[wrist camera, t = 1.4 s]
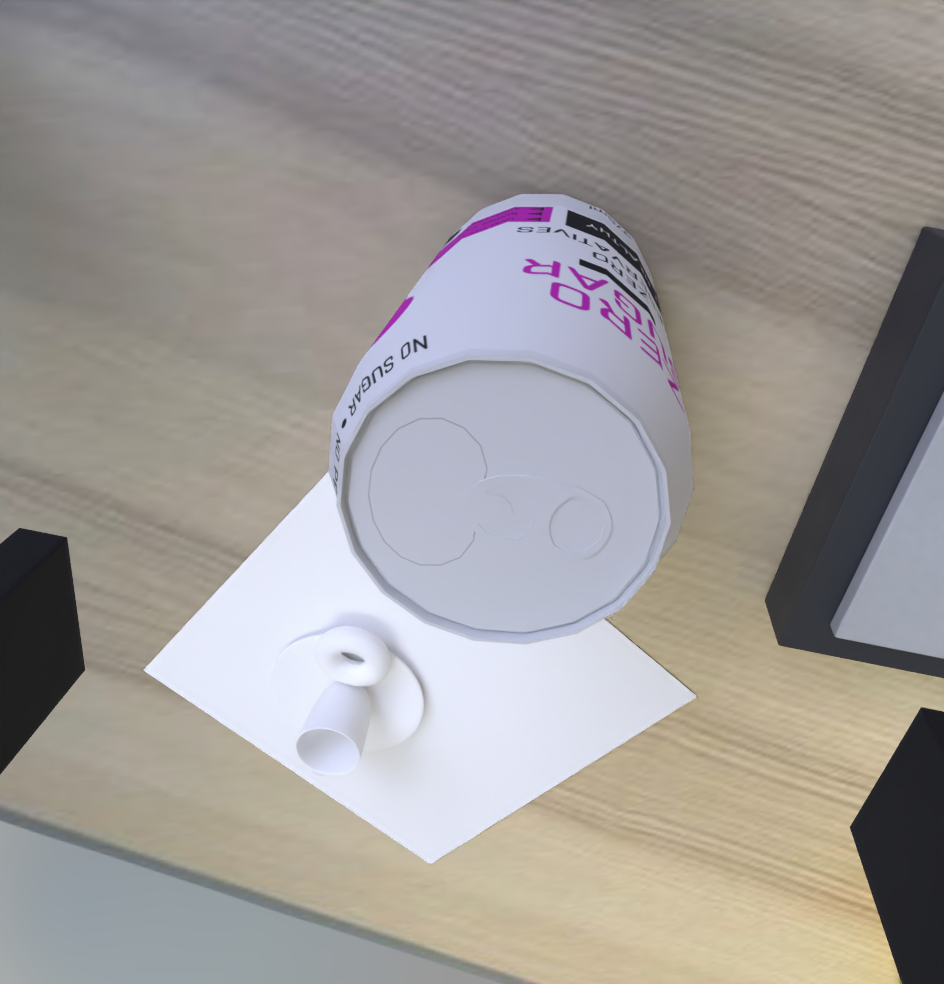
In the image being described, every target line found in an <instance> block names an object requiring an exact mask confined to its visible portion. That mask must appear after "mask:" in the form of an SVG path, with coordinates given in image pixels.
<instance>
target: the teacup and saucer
mask: <svg viewBox="0 0 944 984" xmlns="http://www.w3.org/2000/svg"><path fill="white" fill-rule="evenodd" d="M269 690H270V695H271V698H272V700H273V703H274V705H275V707H276V708H277V710H278V712H279V713H280V714H281V716H282V717H283V718H284V719H285V720H286V722H287V723H288V724H289V725H290V726H291V727H293V728H294V729H295V730H296V731H297V732H299V733H298V735H297V737H296V739H295V742H294V749H295V753H296V755H297V757H298V758H299V760H300V761H301V762H302V763H303V764H304V765H305V766H306V767H308V768H309V769H311V770H312V771H311V772H312V773H313V774H314V775H315V776H318V777H323V776H324V775H326V776H335V777H336V776H344V775H347V774H350V773H352V772H353V771H354V770H355V769H356V768H357V767H358V766H359V765H360V762H361V759H362V756H363V754H371V753H379V752H383V751H387V750H390V749H393V748H395V747H397V746H399V745H401V744H403V743H404V742H406V741H407V740H408V739H409V738H410V737H411V736H412V735H413V734H414V733H415V732H416V731H417V730H418V728H419V726H420V725H421V723H422V720H423V717H424V713H425V697H424V693H423V689H422V687H421V684H420V682H419V680H418V679H417V677H416V675H415V674H414V673H413V671H412V670H411V669H410V668H409V667H408V665H407V664H406V663H405V662H404V661H403V660H401V659H400V658H399V657H398V656H397V655H395V654H394V653H393V652H391V651H390V650H389V648H388V646H387V645H386V644H385V642H384V641H383V640H382V639H381V638H380V637H379V636H377V635H376V634H374V633H373V632H371V631H369V630H367V629H365V628H362V627H358V626H353V625H341V626H336V627H333V628H330V629H328V630H327V631H325V632H324V633H321V634H314V635H310V636H306V637H303V638H301V639H298V640H296V641H294V642H293V643H291V644H289V645H288V646H287V647H285V648H284V649H283V650H282V651H281V652H280V653H279V654H278V656H277V657H276V658H275V660H274V662H273V664H272V666H271V669H270V673H269Z"/></svg>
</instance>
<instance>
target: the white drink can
mask: <svg viewBox="0 0 944 984" xmlns="http://www.w3.org/2000/svg"><path fill="white" fill-rule="evenodd" d="M328 471H329V474H330V478H331V481H332V484H333V487H334V490H335V494H336V497H337V504H336V506H337V509H338V512H339V516H340V519H341V522H342V525H343V528H344V532H345V535H346V538H347V541H348V544H349V547H350V551H351V553H352V555H353V556H354V557H355V559H356V560H357V561H358V562H359V564H360V565H361V566H362V568H363V569H364V570H365V572H366V573H367V574H368V576H369V577H370V578H371V580H372V581H373V582H374V584H375V585H376V586H377V588H378V589H379V590H380V592H381V593H382V594H384V595H385V596H386V597H388V598H389V599H391V600H392V601H393V602H395V603H396V604H398V605H399V606H400V607H402V608H403V609H405V610H406V611H407V612H409V613H410V614H412V615H413V616H414V617H416V618H417V619H419V620H420V621H421V622H423V623H425V624H428V625H431V626H433V627H436V628H439V629H442V630H445V631H447V632H450V633H453V634H456V635H459V636H461V637H464V638H467V639H470V640H473V641H484V642H498V643H512V644H525V645H526V644H531V643H536V642H540V641H545V640H550V639H555V638H560V637H564V636H569V635H574V634H578V633H579V632H581V631H583V630H585V629H587V628H588V627H590V626H592V625H594V624H596V623H597V622H599V621H601V620H603V619H605V618H606V617H608V616H610V615H612V614H614V613H615V612H617V611H619V610H621V609H622V608H623V607H624V606H625V605H626V603H627V602H628V601H629V600H630V599H631V598H632V596H633V595H634V594H635V593H636V592H637V591H638V590H639V588H640V587H641V586H642V585H643V584H644V583H645V582H646V580H647V579H648V578H649V577H650V576H651V575H652V574H653V572H654V571H655V569H656V566H657V563H658V562H659V560H660V559H661V558H662V557H663V556H664V555H665V553H666V552H667V551H668V550H669V549H670V548H671V547H672V545H673V544H674V543H675V542H676V539H677V536H678V534H679V531H680V528H681V525H682V522H683V519H684V516H685V513H686V511H687V508H688V505H689V502H690V499H691V496H692V493H693V490H694V477H693V463H692V448H691V434H690V427H689V423H688V418H687V414H686V410H685V406H684V402H683V398H682V394H681V390H680V386H679V382H678V378H677V374H676V370H675V366H674V362H673V358H672V354H671V350H670V346H669V342H668V338H667V334H666V330H665V326H664V322H663V318H662V314H661V310H660V306H659V302H658V298H657V294H656V290H655V286H654V282H653V278H652V275H651V272H650V270H649V268H648V266H647V264H646V262H645V260H644V258H643V256H642V254H641V252H640V250H639V248H638V246H637V244H636V242H635V240H634V238H633V237H632V236H631V235H630V234H629V233H628V232H627V231H626V230H624V229H623V228H622V227H621V226H620V225H619V224H618V223H617V222H616V221H615V220H614V219H613V218H611V217H610V216H609V215H608V214H607V213H606V212H605V211H604V210H603V209H600V208H597V207H595V206H592V205H590V204H587V203H585V202H582V201H580V200H577V199H574V198H572V197H569V196H567V195H564V194H520V195H517V196H514V197H512V198H509V199H507V200H504V201H501V202H499V203H496V204H493V205H491V206H488V207H486V208H483V209H481V210H480V211H479V212H478V213H477V214H475V215H474V216H473V217H472V218H471V219H470V220H469V221H468V222H466V223H465V224H464V225H463V226H462V227H461V228H460V229H459V230H457V231H456V232H455V233H454V234H453V235H452V236H451V237H450V238H449V240H448V241H447V242H446V244H445V245H444V247H443V248H442V249H441V251H440V252H439V253H438V255H437V256H436V258H435V259H434V260H433V262H432V263H431V264H430V266H429V267H428V269H427V270H426V271H425V273H424V274H423V276H422V277H421V278H420V280H419V281H418V282H417V284H416V285H415V287H414V288H413V289H412V291H411V292H410V293H409V295H408V296H407V298H406V299H405V300H404V302H403V303H402V305H401V306H400V307H399V309H398V310H397V311H396V313H395V314H394V316H393V317H392V318H391V320H390V321H389V322H388V324H387V325H386V327H385V328H384V329H383V331H382V332H381V334H380V335H379V336H378V338H377V339H376V340H375V342H374V343H373V345H372V346H371V347H370V349H369V350H368V351H367V353H366V354H365V356H364V357H363V358H362V360H361V361H360V363H359V364H358V366H357V368H356V370H355V372H354V374H353V376H352V378H351V380H350V382H349V384H348V386H347V388H346V390H345V392H344V394H343V396H342V398H341V400H340V402H339V404H338V406H337V408H336V409H335V411H334V413H333V415H332V429H331V443H330V457H329V470H328Z"/></svg>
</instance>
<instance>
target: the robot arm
mask: <svg viewBox="0 0 944 984" xmlns="http://www.w3.org/2000/svg"><path fill="white" fill-rule="evenodd" d="M84 671H85V666H84V659H83V651H82V644H81V637H80V629H79V622H78V615H77V607H76V600H75V593H74V585H73V578H72V570H71V563H70V556H69V548H68V541H67V537H62V536H57V535H52V534H47V533H42V532H37V531H32V530H27V529H22V528H19V529H18V530H16V531H15V532H14V533H13V534H12V535H10V536H9V537H8V538H7V539H6V540H5V541H3V542H2V543H1V544H0V774H1V773H2V772H3V770H4V769H5V768H6V767H7V765H8V764H9V763H10V762H11V761H12V759H13V758H14V757H15V756H16V754H17V753H18V752H19V751H20V749H21V748H22V747H23V746H24V745H25V743H26V742H27V741H28V740H29V738H30V737H31V736H32V735H33V733H34V732H35V731H36V730H37V728H38V727H39V726H40V725H41V724H42V722H43V721H44V720H45V719H46V717H47V716H48V715H49V714H50V712H51V711H52V710H53V709H54V708H55V706H56V705H57V704H58V703H59V701H60V700H61V699H62V698H63V696H64V695H65V694H66V693H67V692H68V690H69V689H70V688H71V687H72V685H73V684H74V683H75V682H76V680H77V679H78V678H79V677H80V675H81V674H82V673H83V672H84ZM850 829H851V832H852V835H853V838H854V841H855V844H856V847H857V850H858V853H859V856H860V859H861V862H862V865H863V868H864V871H865V874H866V877H867V880H868V883H869V886H870V889H871V892H872V895H873V898H874V901H875V904H876V907H877V910H878V913H879V916H880V919H881V922H882V925H883V928H884V931H885V934H886V937H887V940H888V943H889V946H890V949H891V952H892V955H893V958H894V961H895V964H896V967H897V970H898V973H899V976H900V979H901V982H902V984H944V712H942V711H937V710H932V709H927V708H922V707H921V709H920V710H919V712H918V714H917V715H916V717H915V719H914V720H913V722H912V724H911V725H910V727H909V729H908V731H907V732H906V734H905V736H904V737H903V739H902V741H901V742H900V744H899V746H898V747H897V749H896V751H895V752H894V754H893V756H892V757H891V759H890V761H889V762H888V764H887V766H886V767H885V769H884V771H883V773H882V774H881V776H880V778H879V779H878V781H877V783H876V784H875V786H874V788H873V789H872V791H871V793H870V794H869V796H868V798H867V799H866V801H865V803H864V804H863V806H862V808H861V809H860V811H859V813H858V815H857V816H856V818H855V820H854V821H853V823H852V825H851V826H850Z"/></svg>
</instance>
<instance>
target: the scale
mask: <svg viewBox="0 0 944 984" xmlns="http://www.w3.org/2000/svg"><path fill="white" fill-rule="evenodd" d="M765 603H766V606H767V609H768V612H769V616H770V619H771V622H772V625H773V629H774V632H775V635H776V638H777V642H778V644H779V645H780V646H785V647H790V648H795V649H800V650H805V651H810V652H815V653H820V654H825V655H830V656H835V657H840V658H845V659H850V660H855V661H861V662H866V663H871V664H876V665H881V666H886V667H891V668H896V669H901V670H906V671H911V672H916V673H921V674H926V675H931V676H936V677H941V678H944V230H941V229H935V228H929V227H924V228H923V229H922V231H921V234H920V236H919V239H918V241H917V243H916V246H915V248H914V250H913V253H912V255H911V257H910V260H909V262H908V264H907V267H906V269H905V272H904V274H903V276H902V279H901V281H900V283H899V286H898V288H897V290H896V293H895V295H894V297H893V300H892V302H891V305H890V307H889V309H888V312H887V314H886V316H885V319H884V321H883V323H882V326H881V328H880V330H879V333H878V335H877V338H876V340H875V342H874V345H873V347H872V349H871V352H870V354H869V356H868V359H867V361H866V363H865V366H864V368H863V371H862V373H861V375H860V378H859V380H858V382H857V385H856V387H855V389H854V392H853V394H852V396H851V399H850V401H849V404H848V406H847V408H846V411H845V413H844V415H843V418H842V420H841V422H840V425H839V427H838V429H837V432H836V434H835V437H834V439H833V441H832V444H831V446H830V448H829V451H828V453H827V455H826V458H825V460H824V462H823V465H822V467H821V470H820V472H819V474H818V477H817V479H816V481H815V484H814V486H813V488H812V491H811V493H810V495H809V498H808V500H807V503H806V505H805V507H804V510H803V512H802V514H801V517H800V519H799V521H798V524H797V526H796V528H795V531H794V533H793V536H792V538H791V540H790V543H789V545H788V547H787V550H786V552H785V554H784V557H783V559H782V561H781V564H780V566H779V569H778V571H777V573H776V576H775V578H774V580H773V583H772V585H771V587H770V590H769V592H768V594H767V597H766V599H765Z"/></svg>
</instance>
